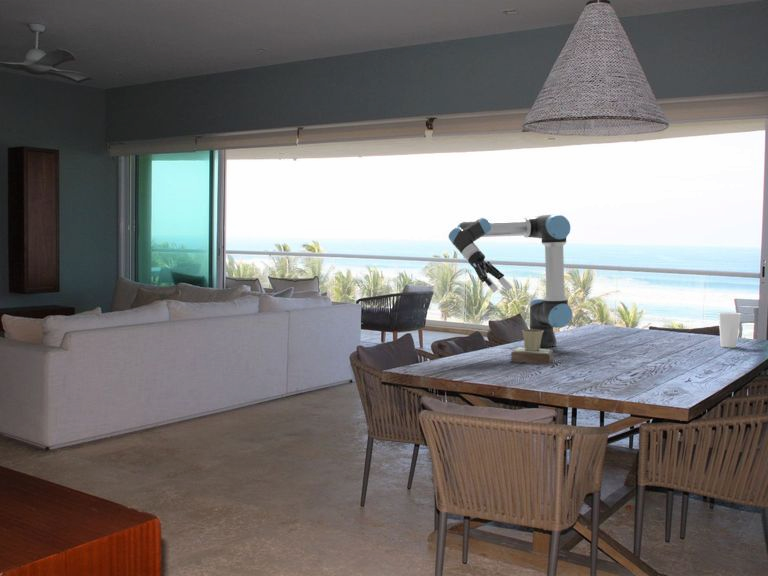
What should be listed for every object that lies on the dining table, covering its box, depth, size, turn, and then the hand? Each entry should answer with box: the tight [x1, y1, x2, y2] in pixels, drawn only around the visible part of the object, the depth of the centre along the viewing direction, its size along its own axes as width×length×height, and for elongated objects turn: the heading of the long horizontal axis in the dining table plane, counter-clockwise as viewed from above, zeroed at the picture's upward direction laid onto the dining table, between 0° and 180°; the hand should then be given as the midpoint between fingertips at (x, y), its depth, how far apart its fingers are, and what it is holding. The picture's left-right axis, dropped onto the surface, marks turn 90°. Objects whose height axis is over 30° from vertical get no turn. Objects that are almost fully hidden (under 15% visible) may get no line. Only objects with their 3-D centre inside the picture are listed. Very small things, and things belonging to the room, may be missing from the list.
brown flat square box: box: [510, 347, 554, 365], centre depth 343 cm, size 16×16×4 cm
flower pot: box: [521, 328, 544, 351], centre depth 342 cm, size 9×9×9 cm
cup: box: [717, 311, 742, 348], centre depth 400 cm, size 11×10×17 cm
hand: (503, 289), depth 355 cm, fingers open, 13 cm apart
